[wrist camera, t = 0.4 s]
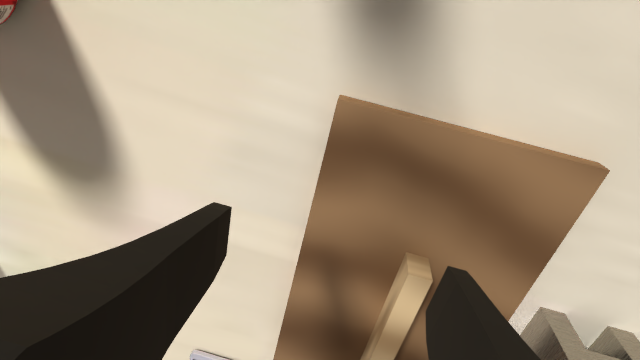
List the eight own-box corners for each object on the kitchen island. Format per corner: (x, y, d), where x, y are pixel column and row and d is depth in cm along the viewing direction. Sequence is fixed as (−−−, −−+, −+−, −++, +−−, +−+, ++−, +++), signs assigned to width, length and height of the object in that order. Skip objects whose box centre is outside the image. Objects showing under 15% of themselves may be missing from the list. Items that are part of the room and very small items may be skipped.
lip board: (441, 404, 28) (451, 468, 24) (275, 354, 29) (258, 409, 25) (598, 162, 18) (659, 205, 14) (340, 94, 19) (328, 117, 15)
